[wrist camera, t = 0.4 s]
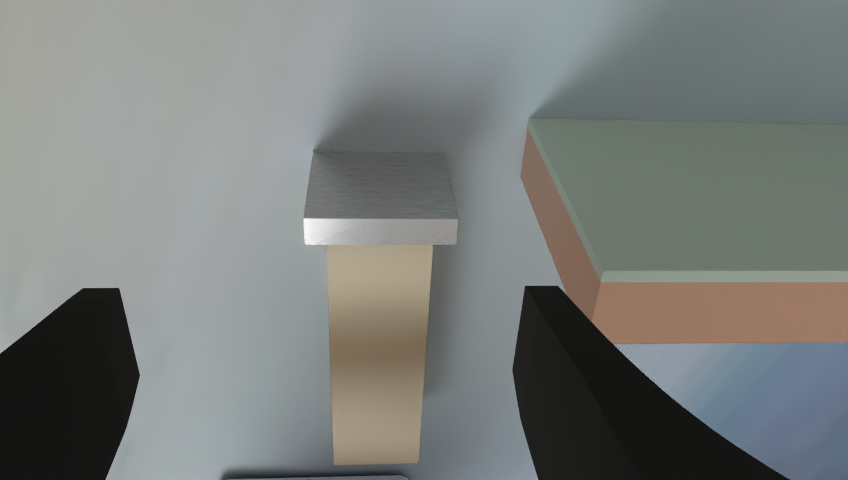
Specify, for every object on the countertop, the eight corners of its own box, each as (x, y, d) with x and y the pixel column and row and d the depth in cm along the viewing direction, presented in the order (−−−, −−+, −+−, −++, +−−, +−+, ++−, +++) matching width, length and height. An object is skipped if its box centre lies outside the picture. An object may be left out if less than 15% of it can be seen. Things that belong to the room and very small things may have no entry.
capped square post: (426, 400, 27) (434, 486, 24) (323, 402, 27) (317, 489, 24) (444, 152, 21) (458, 219, 18) (313, 149, 21) (303, 218, 18)
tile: (875, 180, 23) (1082, 340, 16) (520, 175, 22) (586, 344, 15) (900, 124, 22) (1134, 271, 15) (528, 116, 21) (603, 270, 14)
